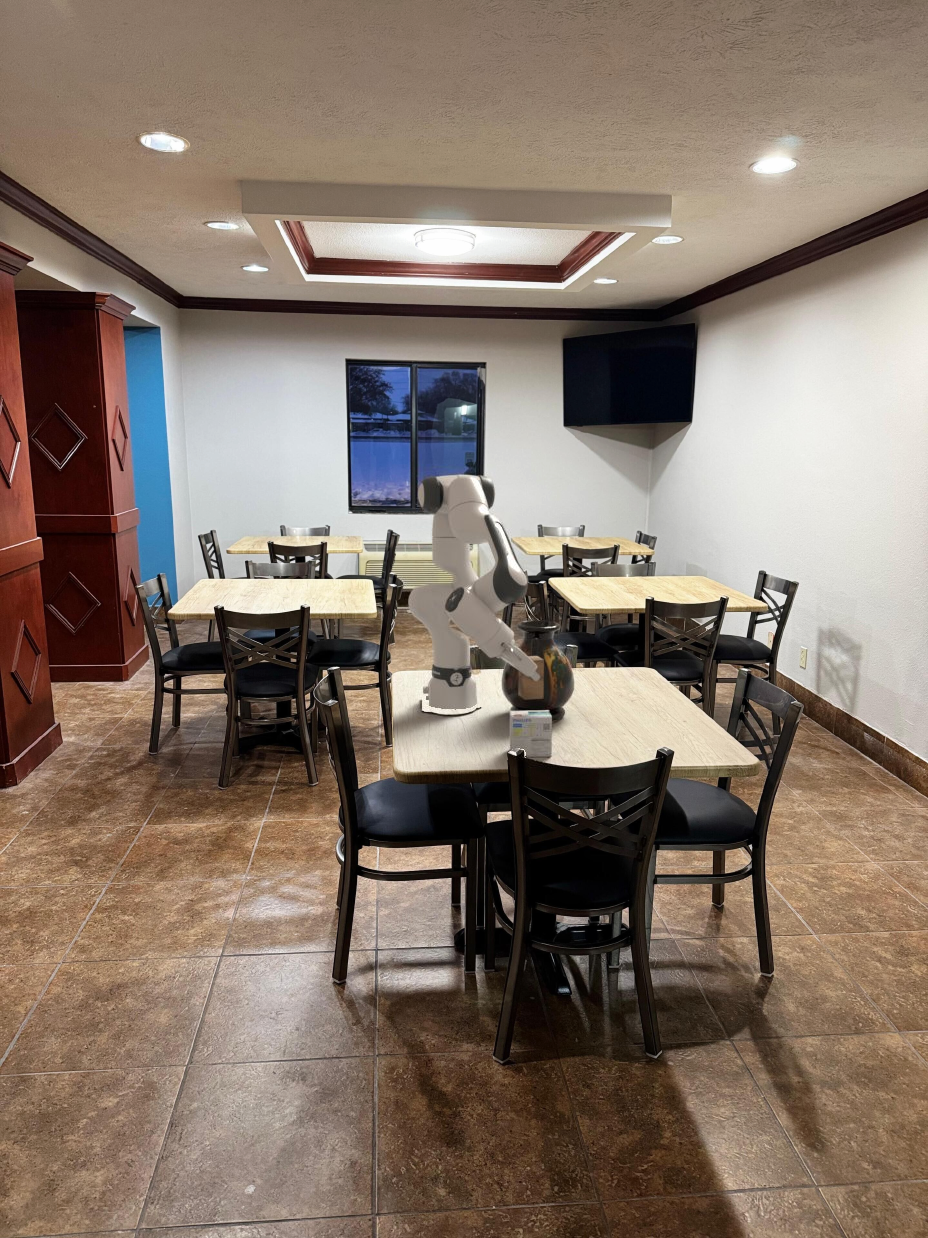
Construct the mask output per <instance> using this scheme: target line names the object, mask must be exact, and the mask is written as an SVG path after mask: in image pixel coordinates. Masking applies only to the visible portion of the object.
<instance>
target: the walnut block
mask: <svg viewBox="0 0 928 1238" xmlns="http://www.w3.org/2000/svg"><path fill="white" fill-rule="evenodd" d="M528 657H529V658H530V659H531V660H532V661H533V662H534V663H535V664H536V665H537V669H536V670H535V671H536V672H537V673H538V674H539V675H540V678H539V680H538V681H534V680H533V679H532V678H531V677H530V676H529V677H528V676H526V675H525V674H523V673H522V672H520V671H519V687H518V695H519V696H521V697H522V698H523V699H524V700H528V699H541V698H543V689H544V660H543V659H542V658H540V657H538V656H528Z"/></svg>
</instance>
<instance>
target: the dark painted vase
mask: <svg viewBox="0 0 928 1238" xmlns="http://www.w3.org/2000/svg"><path fill="white" fill-rule="evenodd" d="M516 628H517V630H519V631H521V632H522V635H523V640H522V642H521V643H520V644H519V646H517V647H518V648H519V649H520V650H522V651H523V652H524V653H525V654H526V655H527V656H538V657H540V658H542V659H543V660H544V689H543V698H541V699H528V700H524V699H523V698H522V697H521V696H519V695H518V687H519V670H517V669H516V668H515V667H513V666H512V665H510V664H509V663H507V662H506V661H505V665H504V667H503V671H502V676H501V690H502V693H503V696H504V697H505V698H506V700H507V701H508V703H509V704H511V707H510V708H509V712H510V711H536V710H549V712H550V714H551V716H552V722H556V721H558V720H560V719H563V717H564V716H565V715H566V710H565V708H564V706H565V705H566V704H567V703H568V702H569V701H570V699H571V697H572V696H573V694H574V690H575V678H574V677H575V676H574V673H573V668H572V665H571V663H570V660H569V659H568V658H567V656H566V655H565V654H564V652H563V651H562V650H561V649H560V648H559V647H558V645H557V644H556V642H555V641H554V636H555V635H554V634H555V632H557V631H559V630H560V629H561V624H559V623H558V622H555V621H549V620H541V619H540V620H525V621H524V620H523V621H520V622H518V623H517V624H516Z"/></svg>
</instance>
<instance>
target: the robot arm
mask: <svg viewBox="0 0 928 1238" xmlns="http://www.w3.org/2000/svg"><path fill="white" fill-rule="evenodd" d="M417 498H418V503H419V504H420V508H421V509H422V510H423V511H424V512H425V513H429V514H432V515H433V518H432V529H431V531H432V533H431V536H432V537H431V540H432V541H431V544H432V548H431V549H432V555H431V556H432V562H433V564H434V565H435V566H436V567H437V569H440V570H441V571H443V572H446V573H447V574H449V575H451V577H452V582H447V583H444V582H443V583H428V584H427V583H426V584H423V585H418V586H415V587H413V589H412V590H411V592H410V594H409V596H408V600H407V601H408V603H407V604H408V609H409V611H410V613H411V615H412V616H413V617H414V618H415V619H417V620H418V621H419V622H421V624H423V625H424V627H425V628H426V629H427V631H428V633H429V635H430V637H431V642H432V652H433V653H432V656H433V664H432V666H431V678H430V679H429V681H428V682H427V686H422V693H423V695H425V696H426V695H428V696H426V700H429V706H431V707H435V708H441V709H455V710H456V709H466V708H471V707H473V706H475V705H476V704H477V702H478V696H477V694H478V693H477V683H476V680H474V679H473V678H472V671H473V668H472V664H471V643H470V642H471V641H470V638H471V639H472V641H473V642H474V644H475V645H476V646H477V647H478V649H480V650H481V651H482V652H483V653H484V654H485V655H486V656H487V657H488V658H490V659H493V658H497V659H501V660H503V661H504V662H505V663H506V662H507V663H509V664H510V665H512V666H513V667H515V668H516V669H517V670H519V671H520V672H522V673H523V674H525V675H526V676H528V677H529V676H530V677H531V678H532V679H533V680H534V681H538V680H539V678H540V675H539V674H538V673H537V672H536V671H535V670H536V669H537V665H536V664H535V663H534V662H533V661H532V660H531V659H530V658H529V657H528V656H527V655H526V654H525V653H524V652H523V651H522V650H520V649H519V648H518V647H519V646H516V645H515V643H516V640H515V639H514V638H515V637H514V636H515V632H514V631H513V630H512V629H511V627H509V626H508V625H507V624H506V623H505V622H504V621H503V620H502V619H501V618H500V617H498V616H496V613H498V612H499V611H502V610H503V609H504V608H506V607H507V606H509V605H511V604H513V603H515V602H517V601H520V600H522V599H523V598H525V596H526V595H527V591H528V588H529V587H528V585H529V582H528V577H527V574H526V572H525V571H524V569H523V567H522V566H521V564H520V563H519V560H518V558H517V556H516V553H515V551H514V550H515V549H514V548H513V545H512V543H511V540H510V537H509V534H508V533H507V531H506V528H505V526H504V524H503V522H502V521H501V519H499V518H498V517H497V516H496V515H494V514H491V512H490V509H491V508H492V507H493V506H494V503H495V500H496V487H495V486H494V482H493V480H492V479H491V478H490V477H488V476H485V475H480V474H478V475H471V474H454V475H453V474H452V475H449V474H448V475H440V476H435V475H433V476H432V475H431V476H428V477H424V478H423V479H422V480H421V481H420V484H419V486H418V491H417ZM485 543H488V545H489V548H490V550H491V551H490V552H491V553H492V557H493V559H494V565H493V567H492V568H491V570H489V572H487V573H486V574H484V575H483V576H481V577H480V578H479V576H478V575H477V573H476V572H475V569H474V568H473V563H472V559H471V547H470V546H471V545H481V544H485ZM450 622H453V623H454V625H455V626H457V628H458V629H459V630H460V631H459V630H457V629H454V628H453V627H451V623H450ZM468 636H469V637H470V638H469V637H468Z"/></svg>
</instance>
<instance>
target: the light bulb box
mask: <svg viewBox="0 0 928 1238" xmlns="http://www.w3.org/2000/svg"><path fill="white" fill-rule="evenodd" d="M552 738H553V721H552V716H551V714H550V712H549V710H536V711H510V710H509V751H510V750H512V749H515V748H520V749H524V750H525V752H526V756H527V757H526V758H535V757H536V758H537V757H538V758H541V757H545V758H547V757H552V756H553V752H552V751H553V749H552V747H553V746H552V744H553V743H552V742H553V739H552Z"/></svg>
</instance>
